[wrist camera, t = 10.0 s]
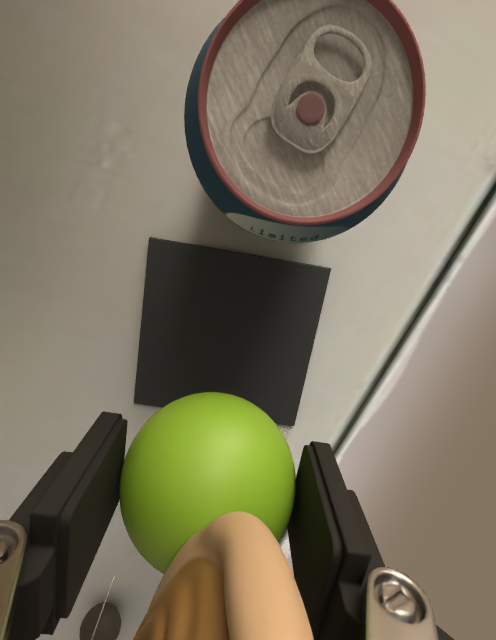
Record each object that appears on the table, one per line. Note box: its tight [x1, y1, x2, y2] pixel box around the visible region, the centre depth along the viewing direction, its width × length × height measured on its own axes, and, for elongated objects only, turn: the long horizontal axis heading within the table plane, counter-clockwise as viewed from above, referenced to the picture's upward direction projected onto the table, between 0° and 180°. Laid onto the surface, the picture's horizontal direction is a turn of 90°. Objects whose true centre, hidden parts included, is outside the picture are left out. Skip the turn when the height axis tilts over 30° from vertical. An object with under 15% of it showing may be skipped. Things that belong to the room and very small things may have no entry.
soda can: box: [184, 0, 426, 243], centre depth 15 cm, size 7×7×12 cm
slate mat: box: [134, 237, 331, 426], centre depth 23 cm, size 11×11×1 cm
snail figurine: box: [119, 392, 314, 640], centre depth 8 cm, size 5×6×12 cm
